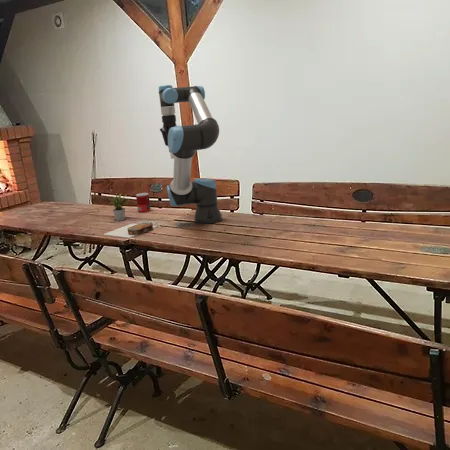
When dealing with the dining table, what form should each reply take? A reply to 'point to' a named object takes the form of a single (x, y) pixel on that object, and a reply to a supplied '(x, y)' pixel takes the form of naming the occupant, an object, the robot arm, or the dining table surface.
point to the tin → (140, 228)
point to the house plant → (118, 207)
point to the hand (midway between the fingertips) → (173, 158)
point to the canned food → (143, 202)
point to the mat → (123, 232)
